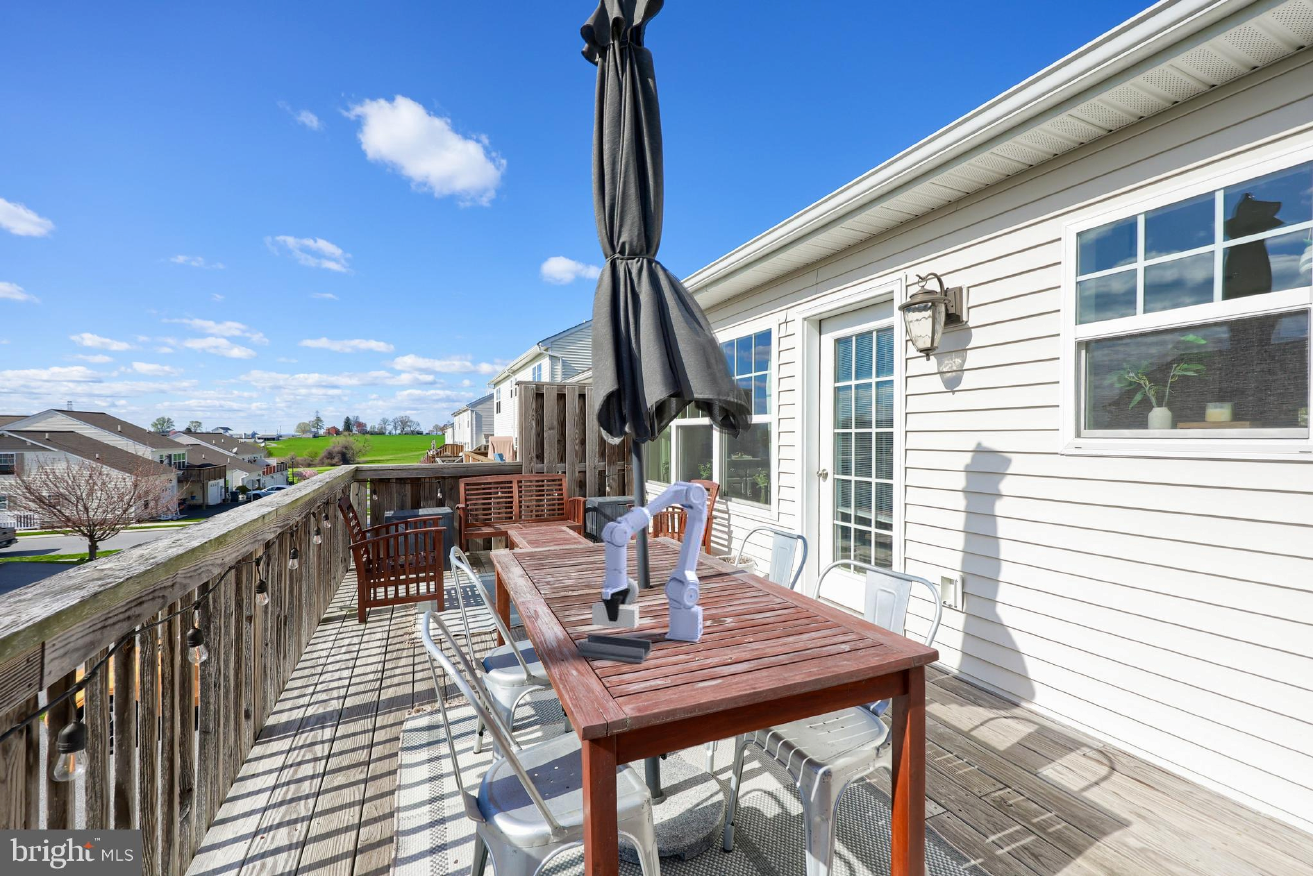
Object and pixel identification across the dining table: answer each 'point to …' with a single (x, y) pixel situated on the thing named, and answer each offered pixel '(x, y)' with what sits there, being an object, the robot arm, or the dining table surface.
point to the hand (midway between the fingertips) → (615, 618)
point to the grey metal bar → (626, 616)
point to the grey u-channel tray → (615, 648)
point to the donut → (632, 592)
